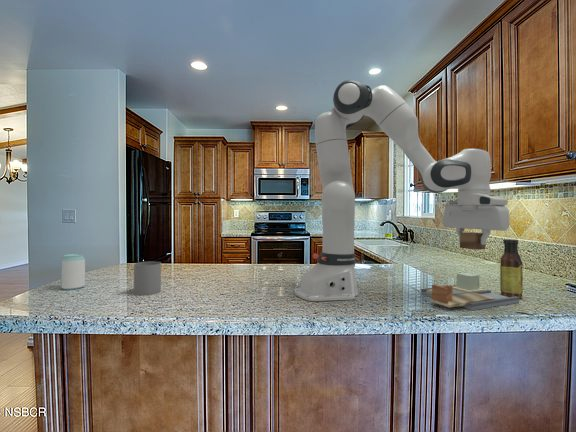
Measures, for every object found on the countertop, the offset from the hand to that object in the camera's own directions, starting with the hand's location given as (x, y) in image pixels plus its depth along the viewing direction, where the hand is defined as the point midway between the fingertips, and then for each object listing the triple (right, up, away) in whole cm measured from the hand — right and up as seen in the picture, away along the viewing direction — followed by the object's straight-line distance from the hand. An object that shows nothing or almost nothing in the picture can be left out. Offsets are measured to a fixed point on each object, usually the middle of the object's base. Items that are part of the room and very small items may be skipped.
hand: (472, 243), depth 96 cm
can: (-136, -17, +12) cm, 138 cm away
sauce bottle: (+18, -19, +8) cm, 28 cm away
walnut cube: (0, -2, 0) cm, 2 cm away
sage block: (+6, -17, +12) cm, 22 cm away
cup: (-107, -18, +8) cm, 109 cm away
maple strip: (-4, -18, -2) cm, 18 cm away
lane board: (+2, -19, +5) cm, 20 cm away
